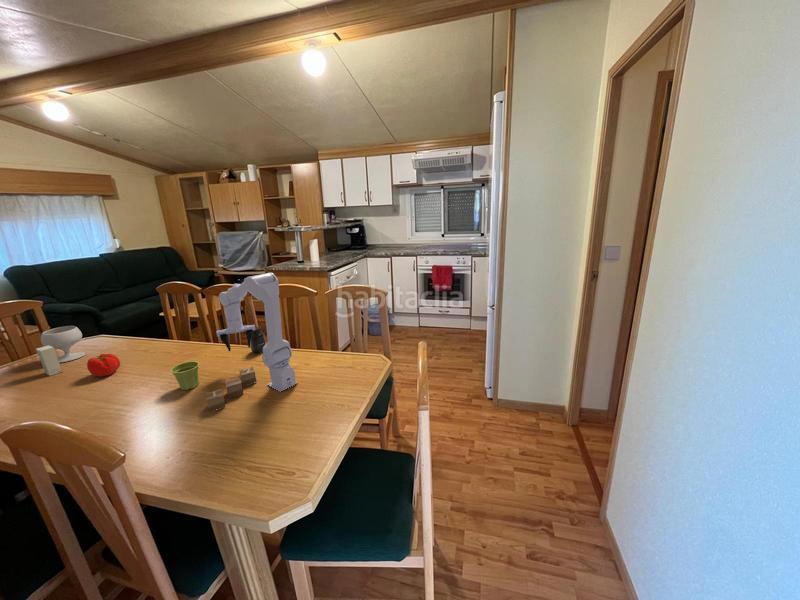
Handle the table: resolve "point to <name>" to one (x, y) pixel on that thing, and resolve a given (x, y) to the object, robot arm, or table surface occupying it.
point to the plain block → (234, 387)
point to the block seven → (247, 376)
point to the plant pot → (186, 374)
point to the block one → (215, 400)
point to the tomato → (103, 365)
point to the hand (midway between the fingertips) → (239, 348)
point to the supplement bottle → (257, 340)
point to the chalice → (63, 341)
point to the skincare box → (49, 360)
